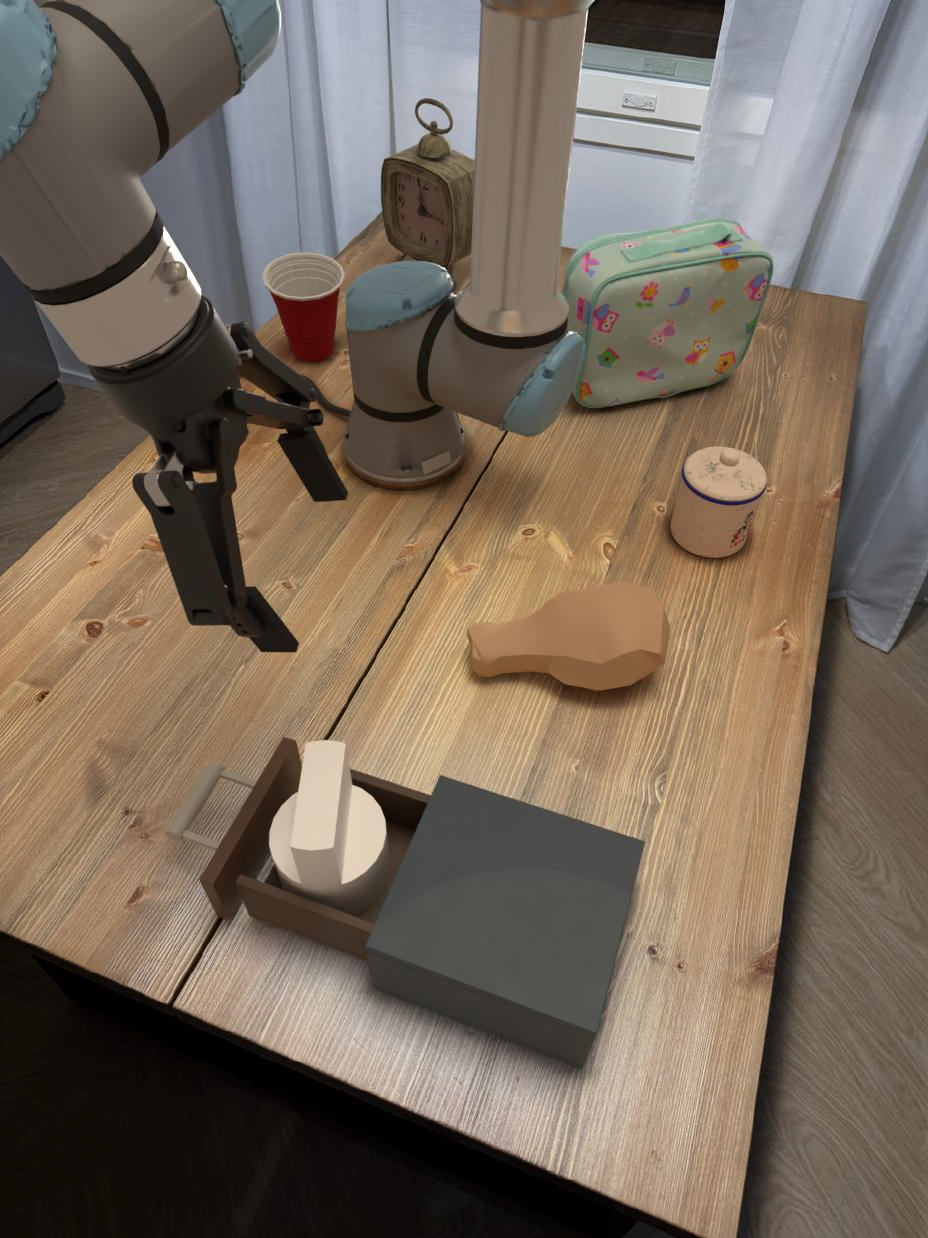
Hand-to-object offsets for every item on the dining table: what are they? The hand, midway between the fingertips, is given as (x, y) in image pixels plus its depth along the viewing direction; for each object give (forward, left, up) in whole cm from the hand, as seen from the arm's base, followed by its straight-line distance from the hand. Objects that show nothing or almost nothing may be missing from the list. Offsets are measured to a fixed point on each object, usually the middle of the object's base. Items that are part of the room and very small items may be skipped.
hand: (307, 568), depth 64 cm
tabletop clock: (-52, +74, -25) cm, 94 cm away
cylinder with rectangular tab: (+9, -9, -23) cm, 26 cm away
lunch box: (-10, +70, -25) cm, 75 cm away
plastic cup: (-50, +45, -25) cm, 72 cm away
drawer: (+6, -10, -24) cm, 26 cm away
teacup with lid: (+11, +50, -25) cm, 57 cm away
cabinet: (+23, -4, -25) cm, 34 cm away
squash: (+10, +22, -25) cm, 35 cm away
